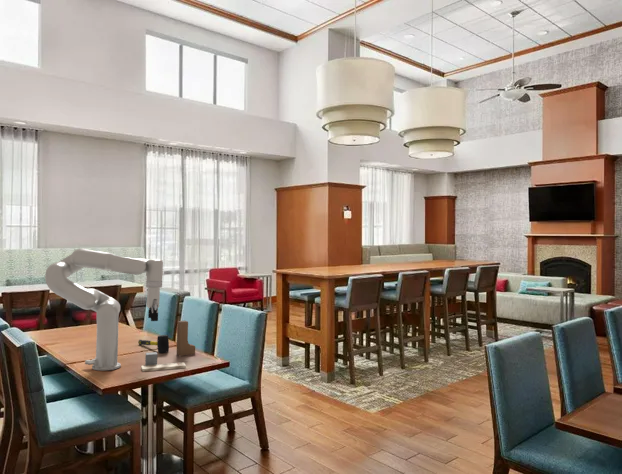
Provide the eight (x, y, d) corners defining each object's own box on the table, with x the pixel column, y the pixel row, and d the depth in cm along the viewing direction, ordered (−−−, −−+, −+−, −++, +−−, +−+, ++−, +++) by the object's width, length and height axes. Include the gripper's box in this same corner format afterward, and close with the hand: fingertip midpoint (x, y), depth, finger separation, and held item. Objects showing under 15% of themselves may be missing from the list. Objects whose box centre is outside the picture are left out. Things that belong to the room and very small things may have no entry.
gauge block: (146, 367, 234) (146, 354, 234) (145, 365, 238) (145, 352, 238) (157, 366, 236) (157, 354, 236) (155, 364, 240) (156, 352, 240)
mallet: (134, 345, 280) (135, 328, 280) (144, 344, 284) (144, 327, 284) (160, 354, 260) (161, 336, 260) (170, 353, 264) (171, 335, 264)
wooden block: (192, 352, 266) (193, 319, 266) (195, 354, 262) (196, 320, 263) (176, 354, 261) (177, 320, 261) (179, 356, 257) (180, 322, 257)
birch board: (142, 371, 226) (142, 368, 226) (141, 368, 231) (141, 365, 231) (186, 367, 234) (186, 365, 234) (183, 364, 240) (183, 362, 240)
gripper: (144, 282, 243) (142, 316, 243) (148, 286, 228) (147, 322, 228) (159, 282, 247) (158, 316, 246) (164, 286, 231) (163, 322, 231)
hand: (152, 319), depth 237 cm, fingers open, 9 cm apart
